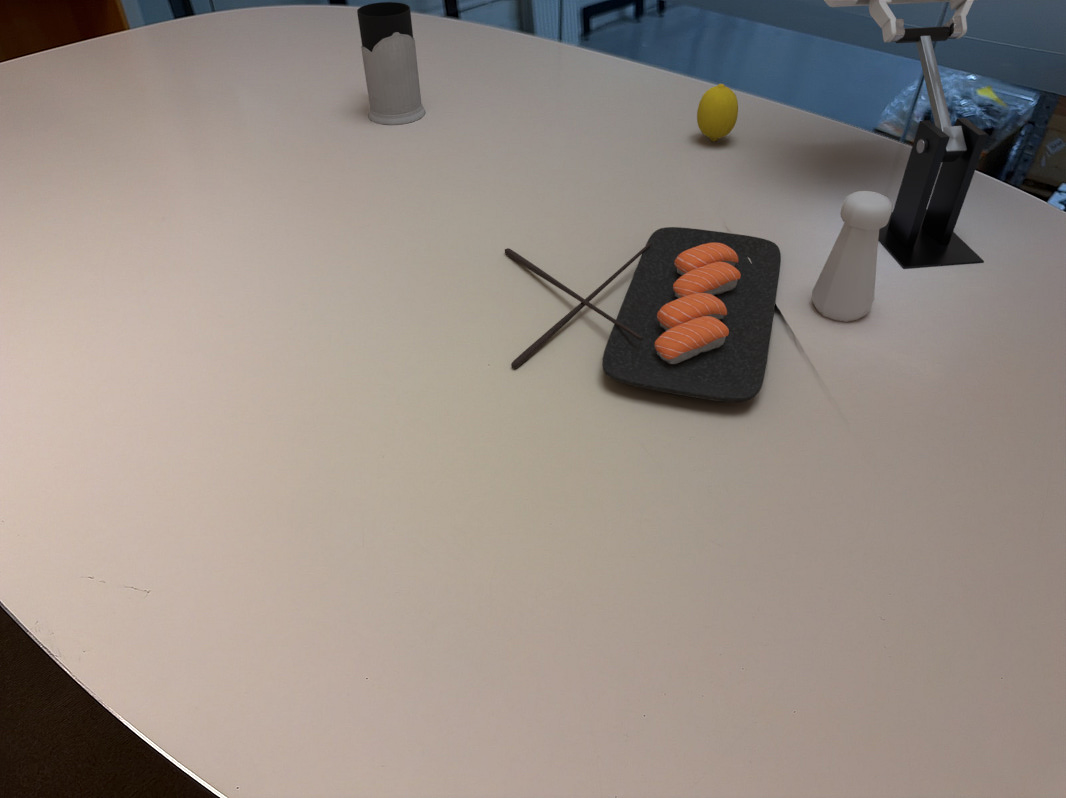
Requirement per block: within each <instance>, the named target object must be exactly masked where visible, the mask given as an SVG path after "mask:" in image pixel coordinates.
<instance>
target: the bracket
mask: <svg viewBox="0 0 1066 798" xmlns="http://www.w3.org/2000/svg"><path fill="white" fill-rule="evenodd" d="M953 126H961V127H962V131H963V135H964V139H965V143H966V148H967V150H966V151H965V152H964V153H963V154H962V155H961V156H960V157H959V158H958V159H956V160H955V161H954V162H942V160H943V157H944V153H945V150H946V147H947V144H948V141H949V138H950V137H949V136H948V135H947V134H945V133H944V132H943V131H942V130H940V129H939V128H938V127H937V126H935V123H933V122H931V121H930V120H929V119H927V120H919V123H918V126H917V129H916V133H915V136H914V139H913V143H912V146H911V150H910V152H909V156H908V160H907V163H906V166H905V168H904V169H905V170H904V173H903V177H902V180H901V183H900V187H899V189H898V193H897V196H896V199H895V203H894V205H893V206H894V207H893V209H892V213H891V215H890V218H889V221H888V223H887V225H886V226H884V227H882V228H880V229H879V238H878V243H880V245H881V246H882V247H883V248H884V249H885V250H886V251H887V252H888V254H889V255H890V256H891V257H892V258H893V259H894V261H895V262H897V264H898V265H899V266H900V267H901V269H903V270H908V269H909V270H910V269H911V270H912V269H922V268H935V267H936V268H937V267H949V266H950V267H951V266H961V265H974V264H984V263H985V261H984V260H983V258H982V257H980V256H979V255H978V254H977V253H976V251H974V250H973V249H972V248H971V247H970V246H969V245H968V244H967V243H966V242H965V241H964V240H963V239H962V238H960V236H959V235H958V234H957V233H956V232H954V230H955V228H956V225H957V223H958V219H959V216H960V214H961V212H962V209H963V207H964V203H965V200H966V197H967V195H968V191H969V189H970V186H971V184H972V180H973V177H974V175H975V172H976V169H977V166H978V163H979V161H980V158H981V156H982V152H983V149H984V147H985V144H986V141H987V138H988V133H986V132H985V131H984V130H982V129H981V128H980V127H978V126H977V125H976V124H975V123H973V122H972V121H970V120H968V118H966V117H959V118H956V119H955V122H954V125H953Z"/></svg>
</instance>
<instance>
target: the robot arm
mask: <svg viewBox="0 0 1066 798" xmlns="http://www.w3.org/2000/svg"><path fill="white" fill-rule="evenodd" d="M823 1H824V3H825V4H826V5H827V6H828V7H829V8H843V7H844V8H845V7H867V6H868V11H869V15H870V16H871V18H872V19H873V20H874V21H875V23H876V24H877V25H878V27H879V28H880V29H881V31H882V32H881V33H882V40H883V42H884V43H896V42H898V41H899V40H900V39H901V38H903V37H904V34H905V29H904V28H905V27H904V26H905V20H904V18H897V17H896V16H895V14H894V12H893V11H892V10H891V8H890V7H889V6H890V5H907V4H909V5H911V4H928V3H929V4H930V3H931V4H932V3H949V8H950V10H951V11H954V14H953V16H951V17H950V18H949V19H948V20H947V21H946V22H945V23H943V26H948V27H949V28H950V36H949V38H948V39H947V40H959V39H961V38H962V37H964V36H965V35H966V34H967V32H968V22H967V16H968V14H969V12H970V9H971V7H972V5H973V3H974V1H977V0H823Z"/></svg>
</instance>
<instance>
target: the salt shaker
mask: <svg viewBox="0 0 1066 798" xmlns="http://www.w3.org/2000/svg"><path fill="white" fill-rule="evenodd" d="M892 212H893V204H892V202H891V200H890V199H889V198H888V197H887V196H886V195H884V194H882V193H880V192H875V191H871V190H858V191H854V192H852V193H850V194H849V195H847V196H845V199H844V200H843V203H842V205H841V208H840V212H839V213H840V214H839V215H840V218H841V220H842V222H843V224H842V227H841V229H840V232H839V233H838V236H837V238H836V239H835V242H834V244H833V246H832V249H831V251H830V253H829V255H828V257H827V258H826V261H825V263H824V265H823V267H822V269H821V272H820V274H819V276H818V278H817V280H816V282H815V284H814V286H813V289H812V292H811V299H812V303H813V304H812V305H814V307H815V309H816V311H817V312H818V313H819V314H821V315H822V316H823V317H825V318H828V319H830V320H833V321H838V322H839V321H841V322H844V323H847V322H852V321H857V320H859V319H861V318H864V317H865V316H867V314H868V313H869V312H870V311H871V309H872V307H873V304H874V301H875V294H876V293H875V292H876V291H875V290H876V278H877V277H876V276H877V263H878V262H877V261H878V248H879V241H878V238H879V229H880V228H882V227H884V226H886V225H887V223H888V221H889V218H890V215H891V213H892Z"/></svg>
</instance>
